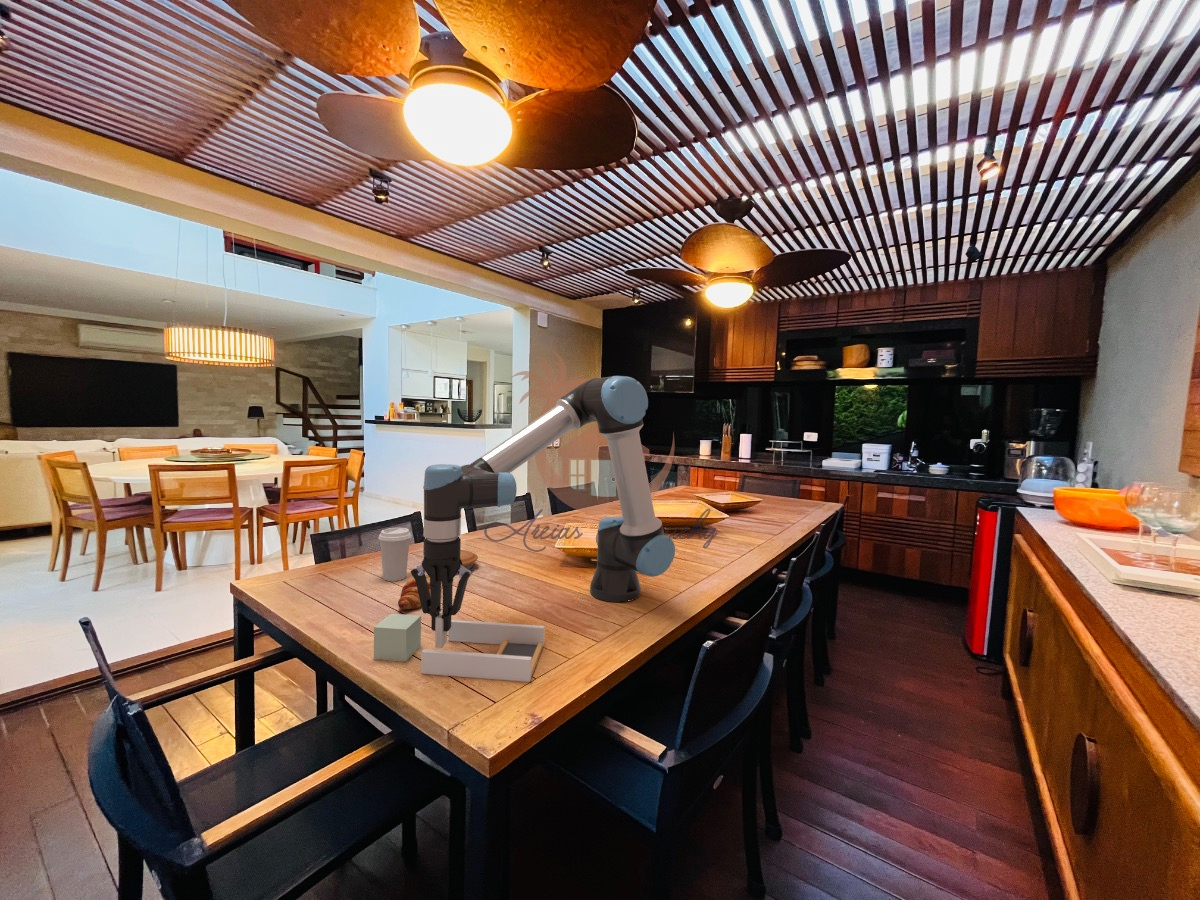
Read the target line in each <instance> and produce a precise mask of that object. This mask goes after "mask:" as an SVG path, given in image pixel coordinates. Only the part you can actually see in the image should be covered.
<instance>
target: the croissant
mask: <svg viewBox="0 0 1200 900" xmlns="http://www.w3.org/2000/svg"><path fill="white" fill-rule="evenodd" d="M425 576H426V579H427V584H428V588H429V593H430V597H431V586H430V577H429V576H428V575H425ZM441 585H442V581H441ZM397 604H398V608H399V609H401V610H405V611H406V610H413V609H414V610H415V609H419V608H422V607H421V603H420V598H419V594H418V590H417V585H416V581H415V579H414V578H412V579H409V580H408V581H406V583H405V584H404V585H403V586H402V589H401V592H400V597H399V599H398V602H397Z"/></svg>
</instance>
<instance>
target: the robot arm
mask: <svg viewBox="0 0 1200 900" xmlns="http://www.w3.org/2000/svg"><path fill="white" fill-rule="evenodd" d="M648 407H649V399H648V395H647V391H646V389H645V388H644V386H643V385H642V384H641V383H640V381H638V380H637V379H635V378H633V377H630V376H626V375H625V376H624V375H613V376H612V375H611V376H607V377H596V378H595V377H594V378H590V379H588V380H586V381H585V382H583V383H580V384H579V385H578V386H576V387H574V388H573V389H572V390H571V391H569V392H568V393H566V394H565V395H564V396H562V397H559V398H558V399H557V400H556V404H555V406H554V407H552V408H551V409H549V410H548V411H546V412H544V413H543V414H542V415H541V416H539V417H537V418H536V419H535V420H533V421H532V422H530V423H529V424H527V425H525V426H524V427H523V428H522V429H520V430H518V431H517V432H516V433H514V434H513V435H511V436H510V437H508V438H507V439H505V440H504V441H503V442H501V443H500V444H498V445H496V446H495V447H494V448H492V449H491V450H489V451H488V452H487V453H485V454H483V455H481V456H480V457H479V458H477V459H475V460H474V461H473V462H471V463H470V464H463V465H458V464H452V463H451V464H448V463H447V464H446V463H445V464H444V463H442V464H441V463H440V464H430V465H428V466H427V467H426V468H425V470H424V476H423V477H424V481H423V486H422V487H423V488H422V489H423V535H422V536H423V537H424V540H423V559H422V561H421V564H420V565H417V566H416V567H414V568H412V569H411V571H410V574H411V575H412V577H413V579H415V581H416V585H417V590H418V594H419V598H420V603H421V607H420V608H421V610H422V613H423V614H425V615H426V614H428V615H430V616H431V617H430V618H431V625H430V626H431V630H432V632H433V631H434V632H435V640H434V641H435V642H434V643H435V645H434V647H435V648H438V649H442V648H443V647H444V646H445V645H446V644H447V642H448V633H449V630H450V628H451V620H452V616H456V615H457V614H458V613H459V612H460V610H461V607H462V603H463V600H464V596H465V592H466V590H467V589H466V588H467V585H468V581H469V579H470V577H471V576H472V574H473V570H472V569H471V568H470V569H466V568H465V567H464V566H462V561H461V559H460V552H461V550H462V549H461V544H462V543H461V538H460V536H461V533H462V532H461V531H462V530H461V529H462V528H461V527H462V521H461V520H462V510H463V509H474V508H487V507H488V508H489V507H491V508H492V507H499V508H500V507H503V506H510V505H511V504H513V503H514V502H515V499H516V498H517V489H518V488H517V482H516V478H515V477H514V475H513V474H512V473H513V472H514V471H515V470H517V469H518V468H520V467H521V466H522V465H523V464H524V463H526V462H528V461H529V460H530V459H532V458H533V457H535V456H536V455H538V454H539V453H540V452H541V451H543V450H545V449H546V448H548V447H549V446H550V445H551V444H553V443H554V442H556V441H557V440H559V439H560V438H561V437H563V436H564V435H566V434H568V432H570V431H572V430H575V431H577V430H579V429H580V428H582V427H583V426H585V425H588V424H590V423H595V422H596V423H597V428H598V432H599V434H600V436H602V437H604V438H605V439H606V442H607V447H608V452H609V456H610V457H609V458H610V462H611V467H612V472H613V477H614V481H615V486H616V491H617V496H618V501H619V506H620V510H621V515H622V516H619V515H618V516H608V517H603V518H600V520H599V522H598V527H597V550H596V551H597V554H596V555H597V557H596V567H595V570H594V574H593V577H592V579H591V581H590V585H589V586H590V587H589V593H590V595H591V596H592V597H593V598H596V599H598V600H601V601H605V602H609V603H621V602H620V601H627V602H629V601H628V600H632V599H635V598H637V597H638V596H639V595H640V596H641V591H642V590H641V583H640V580H639V577H638V574H641V575H644V576H648V577H650V578H652V577H653V578H654V577H658V576H660V575H662V574H664V573H666V572H667V570H668V569H669V568H670V567H671V565H672V563H673V561H674V559H675V555H676V545H675V542H674V541H673V539H671V538H670V536H668V535H667V534H665V533H664V527H663V522H662V520H661V519H660V518H658V517H657V516H656V515H655V514H656V513H655V509H654V505H653V504H654V502H653V499H652V494H651V488H650V484H649V479H648V478H649V477H648V473H647V467H646V462H645V457H644V452H643V446H642V442H641V437H640V430H641V429H642V428H643V426H644V421H643V418H644V417H645V416H646V411H647V410H648V409H649V408H648ZM458 571H459V573H457V572H458ZM426 574H427V575H426ZM457 574H458V578H459V580H458V582H457V587H456V591H455V595H454V598H453V585H454V584H453V583H454V578H455V576H457ZM426 576H429V577H430V586H431V597H430V593H429V588H428V584H427V579H426ZM441 581H442V584H441ZM640 596H639V597H640ZM639 597H638V598H639ZM638 598H637V599H638ZM635 600H636V599H635ZM441 601H442V603H441ZM632 601H633V600H632ZM441 604H442V605H441ZM441 607H442V608H441Z"/></svg>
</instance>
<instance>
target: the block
mask: <svg viewBox="0 0 1200 900" xmlns="http://www.w3.org/2000/svg"><path fill="white" fill-rule="evenodd" d="M421 636H422V615H417V614H416V615H415V614H400V613H390V614H388V615H387V616H386V617H385V618H384V619H382V620H381V621H380V622H378V623H377V624H376V625H375V626H373V659H374V658H375V659H374V660H379V659H384V660H383V661H392V660H393V662H394V661H395V662H407V661H408V660H409V659H410V658H411V657H412V656H413V655H414V653H416V651H417V650H418V649H419V648H420V647H421V645H422V637H421Z"/></svg>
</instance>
